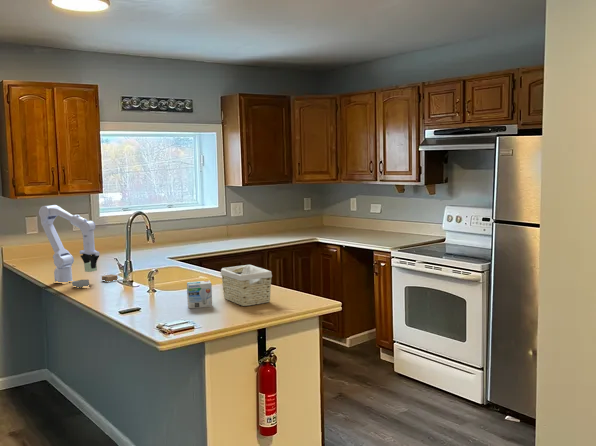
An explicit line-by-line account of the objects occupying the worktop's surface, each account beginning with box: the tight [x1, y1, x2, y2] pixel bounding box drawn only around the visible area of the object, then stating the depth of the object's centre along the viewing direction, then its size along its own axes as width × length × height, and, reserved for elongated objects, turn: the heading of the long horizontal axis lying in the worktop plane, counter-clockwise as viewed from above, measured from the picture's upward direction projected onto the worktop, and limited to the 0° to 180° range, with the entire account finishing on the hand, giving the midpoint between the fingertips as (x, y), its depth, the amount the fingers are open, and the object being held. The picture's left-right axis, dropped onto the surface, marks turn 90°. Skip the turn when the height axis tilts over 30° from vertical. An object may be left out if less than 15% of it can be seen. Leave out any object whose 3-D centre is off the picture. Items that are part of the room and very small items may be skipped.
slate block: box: [71, 279, 90, 287], centre depth 311 cm, size 6×6×4 cm
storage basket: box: [220, 264, 273, 307], centre depth 270 cm, size 24×16×15 cm
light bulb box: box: [186, 280, 213, 309], centre depth 262 cm, size 11×7×11 cm, turn 106°
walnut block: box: [101, 274, 119, 281], centre depth 325 cm, size 6×6×4 cm
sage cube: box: [83, 262, 98, 273], centre depth 319 cm, size 4×4×4 cm
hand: (90, 267), depth 319 cm, fingers closed on sage cube, 4 cm apart
